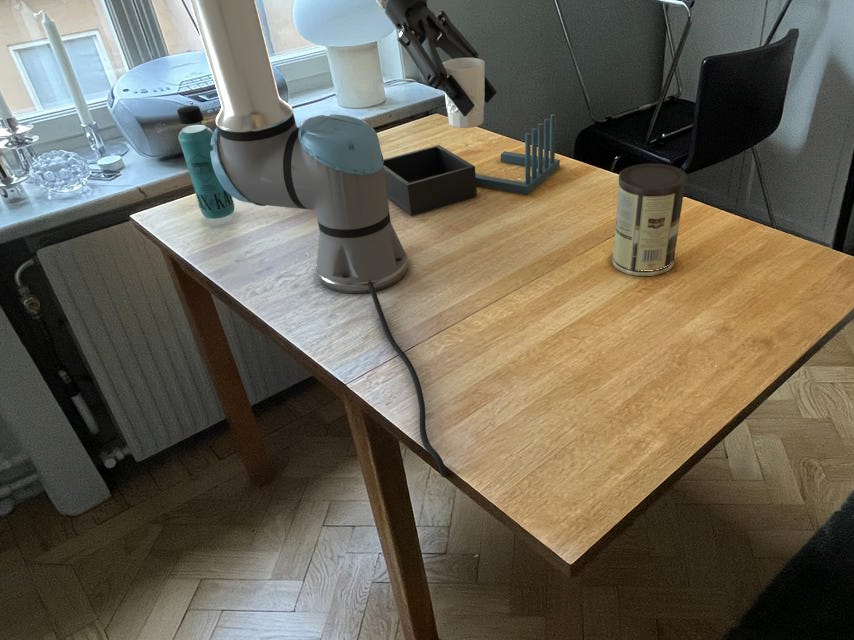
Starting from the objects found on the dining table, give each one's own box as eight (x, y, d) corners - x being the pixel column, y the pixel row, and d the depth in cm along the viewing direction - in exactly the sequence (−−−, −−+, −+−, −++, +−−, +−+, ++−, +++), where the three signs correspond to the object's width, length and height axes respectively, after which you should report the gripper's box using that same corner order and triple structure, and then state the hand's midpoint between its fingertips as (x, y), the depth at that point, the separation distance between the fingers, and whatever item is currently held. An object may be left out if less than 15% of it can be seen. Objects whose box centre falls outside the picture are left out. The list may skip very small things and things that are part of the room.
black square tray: (476, 196, 143) (475, 166, 138) (411, 216, 138) (407, 185, 134) (441, 173, 152) (438, 144, 147) (378, 191, 147) (374, 161, 143)
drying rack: (559, 167, 151) (561, 112, 143) (527, 195, 142) (527, 137, 134) (504, 158, 156) (503, 105, 148) (470, 184, 147) (467, 129, 139)
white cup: (488, 115, 141) (486, 57, 134) (484, 129, 135) (482, 69, 128) (448, 116, 142) (444, 57, 134) (442, 130, 136) (438, 69, 129)
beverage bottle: (201, 217, 142) (165, 105, 128) (235, 209, 144) (202, 99, 129) (207, 229, 138) (170, 116, 123) (242, 222, 139) (209, 109, 125)
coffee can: (646, 242, 126) (657, 157, 116) (686, 265, 119) (701, 178, 109) (598, 258, 122) (605, 172, 112) (637, 283, 116) (647, 194, 106)
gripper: (418, -1, 138) (495, 101, 144) (354, 24, 126) (441, 135, 131) (440, -34, 132) (518, 74, 138) (375, -11, 120) (464, 107, 126)
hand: (480, 104), depth 135 cm, fingers closed on white cup, 8 cm apart
